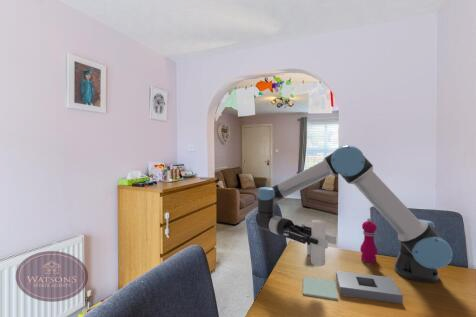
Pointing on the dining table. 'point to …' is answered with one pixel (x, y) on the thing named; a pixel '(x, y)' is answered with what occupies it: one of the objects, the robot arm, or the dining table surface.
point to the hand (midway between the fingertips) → (331, 242)
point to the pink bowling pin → (368, 242)
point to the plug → (316, 250)
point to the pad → (319, 288)
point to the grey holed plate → (380, 291)
